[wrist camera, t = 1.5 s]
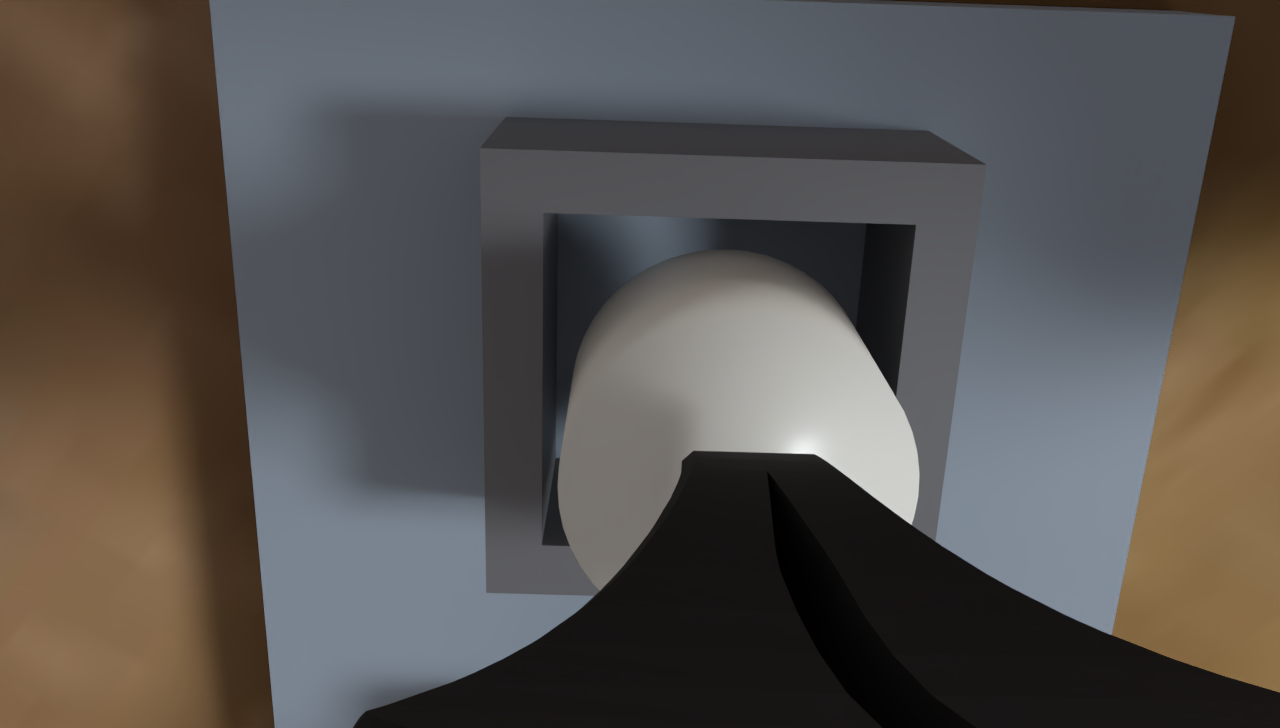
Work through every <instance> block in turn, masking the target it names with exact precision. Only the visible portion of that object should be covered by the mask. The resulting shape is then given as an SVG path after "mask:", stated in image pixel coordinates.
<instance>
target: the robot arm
mask: <svg viewBox="0 0 1280 728" xmlns="http://www.w3.org/2000/svg"><path fill="white" fill-rule="evenodd" d="M353 728H1280V693H1279V692H1276V691H1272V690H1269V689H1265V688H1262V687H1259V686H1255V685H1252V684H1248V683H1245V682H1242V681H1238V680H1235V679H1231V678H1228V677H1225V676H1221V675H1219V674H1216V673H1213V672H1210V671H1207V670H1204V669H1201V668H1198V667H1195V666H1192V665H1189V664H1186V663H1183V662H1180V661H1177V660H1174V659H1171V658H1169V657H1166V656H1163V655H1161V654H1158V653H1156V652H1153V651H1151V650H1148V649H1146V648H1143V647H1140V646H1138V645H1135V644H1133V643H1130V642H1128V641H1125V640H1123V639H1120V638H1118V637H1115V636H1112V635H1110V634H1107V633H1105V632H1102V631H1100V630H1098V629H1096V628H1093V627H1091V626H1089V625H1087V624H1084V623H1082V622H1080V621H1077V620H1075V619H1073V618H1071V617H1069V616H1066V615H1064V614H1062V613H1060V612H1058V611H1056V610H1054V609H1052V608H1050V607H1049V606H1047V605H1045V604H1043V603H1041V602H1039V601H1037V600H1035V599H1033V598H1031V597H1029V596H1027V595H1025V594H1023V593H1021V592H1019V591H1017V590H1015V589H1013V588H1011V587H1009V586H1007V585H1006V584H1004V583H1002V582H1000V581H998V580H997V579H995V578H993V577H991V576H990V575H988V574H986V573H984V572H983V571H981V570H980V569H978V568H976V567H975V566H973V565H972V564H970V563H968V562H967V561H965V560H964V559H962V558H960V557H959V556H957V555H956V554H954V553H952V552H951V551H949V550H948V549H946V548H944V547H943V546H941V545H940V544H938V543H937V542H935V541H934V540H932V539H931V538H930V537H928V536H927V535H925V534H924V533H922V532H921V531H919V530H918V529H916V528H915V527H914V526H912V525H911V524H909V523H908V522H907V521H905V520H904V519H902V518H901V517H900V516H898V515H897V514H896V513H894V512H893V511H892V510H890V509H889V508H888V507H886V506H885V505H884V504H882V503H881V502H880V501H878V500H877V499H876V498H874V497H873V496H872V495H870V494H869V493H868V492H866V491H865V490H864V489H863V488H861V487H860V486H859V485H857V484H856V483H855V482H854V481H852V480H851V479H850V478H848V477H847V476H846V475H844V474H843V473H842V472H840V471H839V470H838V469H836V468H835V467H834V466H832V465H831V464H830V463H828V462H827V461H825V460H824V459H822V458H821V457H819V456H817V455H815V454H793V453H759V452H724V451H693V452H691V453H690V454H689V455H688V456H687V457H686V458H684V459H683V460H682V465H681V475H680V478H679V481H678V483H677V485H676V487H675V489H674V492H673V494H672V496H671V498H670V500H669V501H668V503H667V505H666V506H665V508H664V510H663V511H662V513H661V515H660V516H659V518H658V520H657V521H656V523H655V525H654V526H653V528H652V529H651V531H650V532H649V534H648V535H647V536H646V538H645V539H644V540H643V541H642V543H641V544H640V545H639V547H638V548H637V549H636V550H635V552H634V553H633V554H632V556H631V557H630V558H629V559H628V561H627V562H626V563H625V564H624V566H623V567H622V568H621V569H620V570H619V571H618V572H617V573H616V575H615V576H614V577H613V578H612V579H611V580H610V581H609V582H608V583H607V584H606V585H605V586H604V587H603V588H602V589H601V590H600V591H599V592H598V593H597V594H596V595H595V596H594V597H593V598H592V599H591V600H589V601H588V602H587V603H586V604H585V605H584V606H583V607H582V608H581V609H580V610H578V611H577V612H576V613H575V614H573V615H572V616H570V617H569V618H568V619H566V620H565V621H563V622H562V623H560V624H559V625H558V626H556V627H555V628H553V629H552V630H551V631H549V632H548V633H546V634H545V635H543V636H542V637H541V638H539V639H537V640H536V641H534V642H533V643H531V644H529V645H527V646H525V647H524V648H522V649H520V650H518V651H516V652H515V653H513V654H511V655H509V656H507V657H506V658H504V659H502V660H500V661H497V662H495V663H493V664H491V665H489V666H487V667H485V668H483V669H481V670H479V671H477V672H475V673H472V674H470V675H468V676H465V677H463V678H461V679H458V680H456V681H454V682H451V683H448V684H445V685H443V686H440V687H437V688H434V689H431V690H428V691H425V692H422V693H420V694H417V695H414V696H411V697H408V698H405V699H402V700H400V701H397V702H394V703H391V704H388V705H385V706H382V707H378V708H375V709H371V710H368V711H365V712H364V713H363V714H362V715H361V716H360V717H359V719H358V720H357V722H356V724H355V725H354V727H353Z"/></svg>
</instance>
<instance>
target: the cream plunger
mask: <svg viewBox="0 0 1280 728" xmlns="http://www.w3.org/2000/svg"><path fill="white" fill-rule="evenodd" d="M693 451H724V452H759V453H793V454H815V455H817V456H819V457H821V458H822V459H824V460H825V461H827V462H828V463H830V464H831V465H832V466H834V467H835V468H836V469H838V470H839V471H840V472H842V473H843V474H844V475H846V476H847V477H848V478H850V479H851V480H852V481H854V482H855V483H856V484H857V485H859V486H860V487H861V488H863V489H864V490H865V491H866V492H868V493H869V494H870V495H872V496H873V497H874V498H876V499H877V500H878V501H880V502H881V503H882V504H884V505H885V506H886V507H888V508H889V509H890V510H892V511H893V512H894V513H896V514H897V515H898V516H900V517H901V518H902V519H904V520H905V521H907V522H908V523H909V524H911V525H912V522H913V519H914V515H915V510H916V505H917V500H918V494H919V476H920V474H919V463H918V453H917V448H916V444H915V440H914V436H913V432H912V429H911V427H910V425H909V422H908V420H907V417H906V415H905V412H904V410H903V409H902V407H901V405H900V403H899V402H898V400H897V398H896V397H895V395H894V393H893V392H892V390H891V388H890V386H889V385H888V383H887V381H886V380H885V378H884V376H883V375H882V373H881V371H880V370H879V368H878V366H877V365H876V363H875V361H874V359H873V358H872V356H871V354H870V353H869V351H868V349H867V348H866V346H865V344H864V343H863V341H862V339H861V338H860V336H859V334H858V332H857V331H856V329H855V327H854V326H853V324H852V322H851V321H850V319H849V317H848V316H847V314H846V312H845V311H844V309H843V308H842V307H841V306H840V304H839V303H838V302H837V301H836V299H835V298H834V297H833V296H832V295H831V294H830V293H829V292H828V291H827V290H826V289H825V288H824V287H823V286H822V285H821V284H820V283H819V282H817V281H816V280H814V279H813V278H812V277H810V276H809V275H807V274H806V273H805V272H803V271H801V270H799V269H798V268H796V267H794V266H792V265H790V264H788V263H786V262H783V261H781V260H778V259H775V258H773V257H770V256H767V255H763V254H758V253H754V252H750V251H741V250H730V249H722V250H705V251H698V252H692V253H687V254H684V255H680V256H677V257H673V258H670V259H667V260H665V261H663V262H661V263H658V264H656V265H654V266H651V267H650V268H648V269H646V270H645V271H643V272H641V273H640V274H638V275H636V276H635V277H633V278H632V279H631V280H629V281H628V282H627V283H626V284H624V285H623V286H622V287H620V288H619V289H618V290H617V291H616V292H615V293H614V294H613V295H612V296H611V297H610V298H609V299H608V300H607V301H606V302H605V304H604V305H603V306H602V308H601V309H600V310H599V312H598V313H597V314H596V316H595V317H594V318H593V320H592V322H591V324H590V326H589V327H588V329H587V331H586V333H585V335H584V337H583V340H582V342H581V345H580V348H579V350H578V353H577V358H576V362H575V366H574V371H573V377H572V384H571V390H570V397H569V404H568V410H567V417H566V423H565V430H564V436H563V443H562V449H561V456H560V462H559V473H558V485H557V487H558V502H559V510H560V515H561V520H562V525H563V529H564V532H565V534H566V537H567V540H568V542H569V545H570V548H571V550H572V552H573V553H574V555H575V557H576V559H577V561H578V563H579V565H580V567H581V568H582V569H583V571H584V572H585V573H586V575H587V576H588V578H589V579H590V580H591V582H592V583H593V584H594V585H595V586H596V587H597V588H598V589H599V590H601V589H602V588H603V587H604V586H605V585H606V584H607V583H608V582H609V581H610V580H611V579H612V578H613V577H614V576H615V575H616V573H617V572H618V571H619V570H620V569H621V568H622V567H623V566H624V564H625V563H626V562H627V561H628V559H629V558H630V557H631V556H632V554H633V553H634V552H635V550H636V549H637V548H638V547H639V545H640V544H641V543H642V541H643V540H644V539H645V538H646V536H647V535H648V534H649V532H650V531H651V529H652V528H653V526H654V525H655V523H656V521H657V520H658V518H659V516H660V515H661V513H662V511H663V510H664V508H665V506H666V505H667V503H668V501H669V500H670V498H671V496H672V494H673V492H674V489H675V487H676V485H677V483H678V481H679V478H680V475H681V465H682V460H683V459H684V458H686V457H687V456H688V455H689V454H690V453H691V452H693Z"/></svg>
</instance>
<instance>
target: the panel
mask: <svg viewBox="0 0 1280 728" xmlns="http://www.w3.org/2000/svg"><path fill="white" fill-rule="evenodd" d="M209 4H210V15H211V26H212V37H213V48H214V59H215V70H216V81H217V92H218V103H219V114H220V126H221V137H222V148H223V159H224V170H225V181H226V192H227V203H228V214H229V225H230V236H231V247H232V259H233V270H234V281H235V292H236V303H237V314H238V325H239V336H240V347H241V358H242V369H243V380H244V392H245V403H246V414H247V425H248V436H249V447H250V458H251V469H252V480H253V491H254V502H255V513H256V525H257V536H258V547H259V558H260V569H261V580H262V591H263V602H264V613H265V624H266V635H267V646H268V658H269V669H270V680H271V691H272V702H273V713H274V724H275V728H353V727H354V725H355V724H356V722H357V720H358V719H359V717H360V716H361V715H362V714H363V713H364V712H365V711H368V710H371V709H375V708H378V707H382V706H385V705H388V704H391V703H394V702H397V701H400V700H402V699H405V698H408V697H411V696H414V695H417V694H420V693H422V692H425V691H428V690H431V689H434V688H437V687H440V686H443V685H445V684H448V683H451V682H454V681H456V680H458V679H461V678H463V677H465V676H468V675H470V674H472V673H475V672H477V671H479V670H481V669H483V668H485V667H487V666H489V665H491V664H493V663H495V662H497V661H500V660H502V659H504V658H506V657H507V656H509V655H511V654H513V653H515V652H516V651H518V650H520V649H522V648H524V647H525V646H527V645H529V644H531V643H533V642H534V641H536V640H537V639H539V638H541V637H542V636H543V635H545V634H546V633H548V632H549V631H551V630H552V629H553V628H555V627H556V626H558V625H559V624H560V623H562V622H563V621H565V620H566V619H568V618H569V617H570V616H572V615H573V614H575V613H576V612H577V611H578V610H580V609H581V608H582V607H583V606H584V605H585V604H586V603H587V602H588V601H589V600H591V599H592V598H593V597H594V596H595V595H596V594H597V593H598V592H599V591H600V590H599V589H598V588H597V587H596V586H595V585H594V584H593V583H592V582H591V580H590V579H589V578H588V576H587V575H586V573H585V572H584V571H583V569H582V568H581V567H580V565H579V563H578V561H577V559H576V557H575V555H574V553H573V552H572V550H571V548H570V545H569V542H568V540H567V537H566V534H565V532H564V529H563V525H562V520H561V515H560V510H559V502H558V487H557V485H558V473H559V462H560V456H561V449H562V443H563V436H564V430H565V423H566V417H567V410H568V404H569V397H570V390H571V384H572V377H573V371H574V366H575V362H576V358H577V353H578V350H579V348H580V345H581V342H582V340H583V337H584V335H585V333H586V331H587V329H588V327H589V326H590V324H591V322H592V320H593V318H594V317H595V316H596V314H597V313H598V312H599V310H600V309H601V308H602V306H603V305H604V304H605V302H606V301H607V300H608V299H609V298H610V297H611V296H612V295H613V294H614V293H615V292H616V291H617V290H618V289H619V288H620V287H622V286H623V285H624V284H626V283H627V282H628V281H629V280H631V279H632V278H633V277H635V276H636V275H638V274H640V273H641V272H643V271H645V270H646V269H648V268H650V267H651V266H654V265H656V264H658V263H661V262H663V261H665V260H667V259H670V258H673V257H677V256H680V255H684V254H687V253H692V252H698V251H705V250H722V249H730V250H741V251H750V252H754V253H758V254H763V255H767V256H770V257H773V258H775V259H778V260H781V261H783V262H786V263H788V264H790V265H792V266H794V267H796V268H798V269H799V270H801V271H803V272H805V273H806V274H807V275H809V276H810V277H812V278H813V279H814V280H816V281H817V282H819V283H820V284H821V285H822V286H823V287H824V288H825V289H826V290H827V291H828V292H829V293H830V294H831V295H832V296H833V297H834V298H835V299H836V301H837V302H838V303H839V304H840V306H841V307H842V308H843V309H844V311H845V312H846V314H847V316H848V317H849V319H850V321H851V322H852V324H853V326H854V327H855V329H856V331H857V332H858V334H859V336H860V338H861V339H862V341H863V343H864V344H865V346H866V348H867V349H868V351H869V353H870V354H871V356H872V358H873V359H874V361H875V363H876V365H877V366H878V368H879V370H880V371H881V373H882V375H883V376H884V378H885V380H886V381H887V383H888V385H889V386H890V388H891V390H892V392H893V393H894V395H895V397H896V398H897V400H898V402H899V403H900V405H901V407H902V409H903V410H904V412H905V415H906V417H907V420H908V422H909V425H910V427H911V429H912V432H913V436H914V440H915V444H916V448H917V453H918V463H919V474H920V476H919V494H918V500H917V505H916V510H915V515H914V519H913V522H912V526H914V527H915V528H916V529H918V530H919V531H921V532H922V533H924V534H925V535H927V536H928V537H930V538H931V539H932V540H934V541H935V542H937V543H938V544H940V545H941V546H943V547H944V548H946V549H948V550H949V551H951V552H952V553H954V554H956V555H957V556H959V557H960V558H962V559H964V560H965V561H967V562H968V563H970V564H972V565H973V566H975V567H976V568H978V569H980V570H981V571H983V572H984V573H986V574H988V575H990V576H991V577H993V578H995V579H997V580H998V581H1000V582H1002V583H1004V584H1006V585H1007V586H1009V587H1011V588H1013V589H1015V590H1017V591H1019V592H1021V593H1023V594H1025V595H1027V596H1029V597H1031V598H1033V599H1035V600H1037V601H1039V602H1041V603H1043V604H1045V605H1047V606H1049V607H1050V608H1052V609H1054V610H1056V611H1058V612H1060V613H1062V614H1064V615H1066V616H1069V617H1071V618H1073V619H1075V620H1077V621H1080V622H1082V623H1084V624H1087V625H1089V626H1091V627H1093V628H1096V629H1098V630H1100V631H1102V632H1105V633H1107V634H1110V635H1112V630H1113V625H1114V620H1115V615H1116V610H1117V605H1118V600H1119V595H1120V590H1121V585H1122V580H1123V575H1124V570H1125V565H1126V560H1127V555H1128V550H1129V545H1130V540H1131V535H1132V530H1133V525H1134V520H1135V515H1136V510H1137V505H1138V500H1139V495H1140V490H1141V486H1142V481H1143V476H1144V471H1145V466H1146V461H1147V456H1148V451H1149V446H1150V441H1151V436H1152V431H1153V426H1154V421H1155V416H1156V411H1157V406H1158V401H1159V396H1160V391H1161V386H1162V381H1163V376H1164V371H1165V366H1166V361H1167V356H1168V351H1169V346H1170V341H1171V336H1172V331H1173V326H1174V321H1175V316H1176V311H1177V306H1178V301H1179V296H1180V291H1181V286H1182V281H1183V276H1184V271H1185V266H1186V261H1187V256H1188V251H1189V246H1190V241H1191V236H1192V231H1193V226H1194V221H1195V216H1196V211H1197V206H1198V201H1199V196H1200V192H1201V187H1202V182H1203V177H1204V172H1205V167H1206V162H1207V157H1208V152H1209V147H1210V142H1211V137H1212V132H1213V127H1214V122H1215V117H1216V112H1217V107H1218V102H1219V97H1220V92H1221V87H1222V82H1223V77H1224V72H1225V67H1226V62H1227V57H1228V52H1229V47H1230V42H1231V37H1232V32H1233V27H1234V22H1235V17H1236V16H1225V15H1215V14H1204V13H1194V12H1183V11H1169V10H1140V9H1112V8H1083V7H1054V6H1025V5H996V4H967V3H939V2H910V1H881V0H209Z"/></svg>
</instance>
